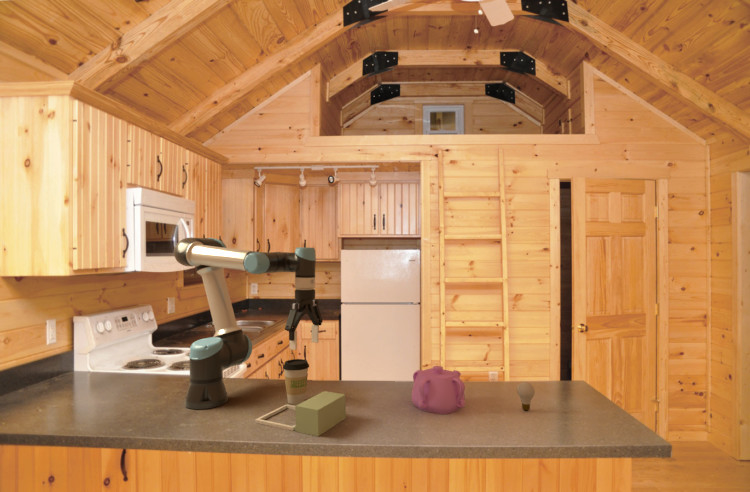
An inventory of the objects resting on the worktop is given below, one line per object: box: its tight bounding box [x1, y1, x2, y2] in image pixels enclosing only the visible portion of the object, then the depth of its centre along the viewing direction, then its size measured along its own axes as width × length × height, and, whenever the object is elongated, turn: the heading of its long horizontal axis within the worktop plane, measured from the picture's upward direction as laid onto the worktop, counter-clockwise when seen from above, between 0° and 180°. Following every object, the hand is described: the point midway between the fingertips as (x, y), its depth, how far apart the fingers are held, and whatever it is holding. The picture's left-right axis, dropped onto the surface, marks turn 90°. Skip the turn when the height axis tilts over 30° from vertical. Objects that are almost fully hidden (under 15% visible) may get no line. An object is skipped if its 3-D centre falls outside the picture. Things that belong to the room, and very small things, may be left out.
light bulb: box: [516, 381, 536, 412], centre depth 156 cm, size 6×6×10 cm
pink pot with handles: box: [411, 365, 466, 415], centre depth 163 cm, size 19×21×14 cm
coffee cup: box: [282, 358, 310, 406], centre depth 167 cm, size 10×10×15 cm
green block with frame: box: [254, 390, 347, 437], centre depth 149 cm, size 25×16×8 cm, turn 63°
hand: (304, 345), depth 165 cm, fingers open, 13 cm apart
